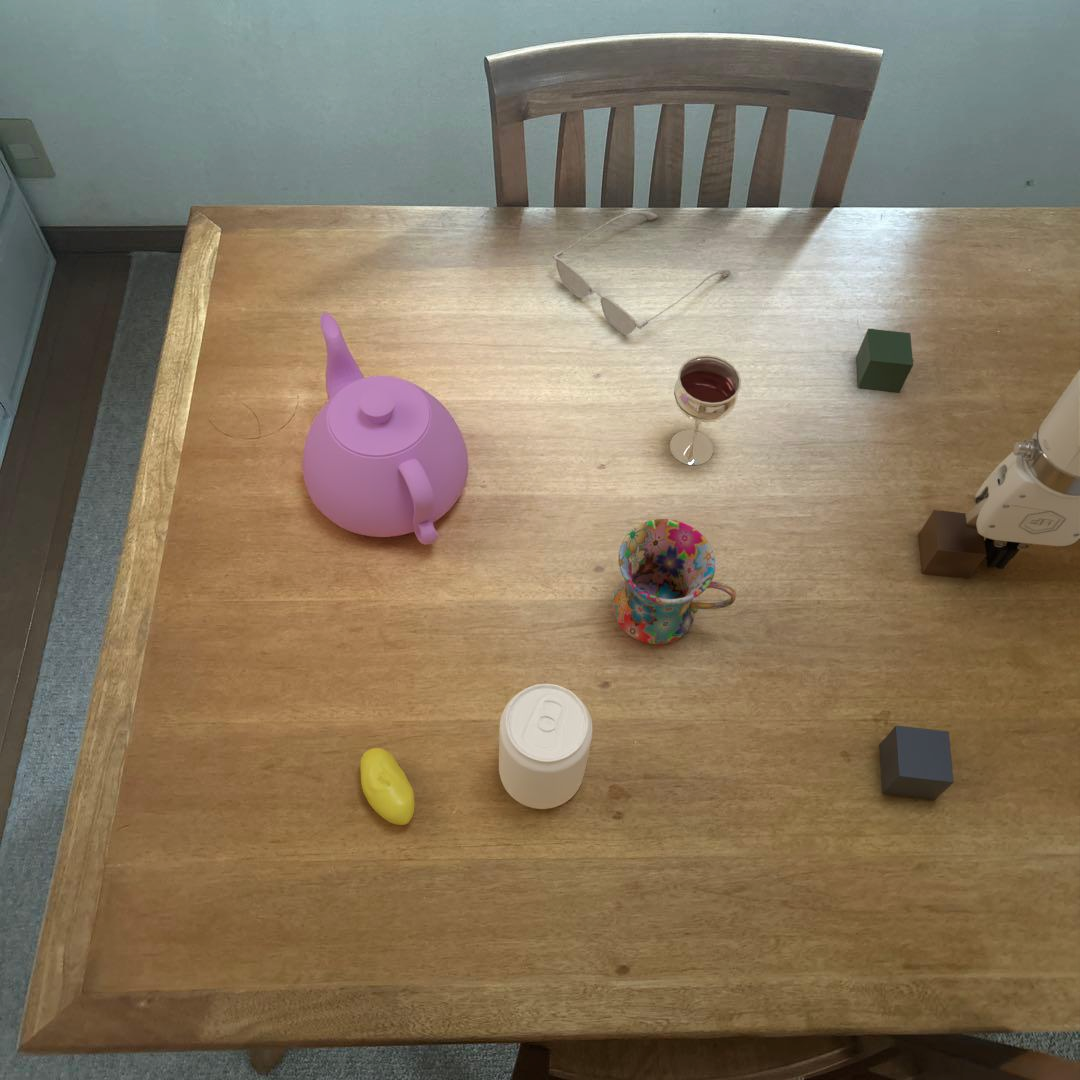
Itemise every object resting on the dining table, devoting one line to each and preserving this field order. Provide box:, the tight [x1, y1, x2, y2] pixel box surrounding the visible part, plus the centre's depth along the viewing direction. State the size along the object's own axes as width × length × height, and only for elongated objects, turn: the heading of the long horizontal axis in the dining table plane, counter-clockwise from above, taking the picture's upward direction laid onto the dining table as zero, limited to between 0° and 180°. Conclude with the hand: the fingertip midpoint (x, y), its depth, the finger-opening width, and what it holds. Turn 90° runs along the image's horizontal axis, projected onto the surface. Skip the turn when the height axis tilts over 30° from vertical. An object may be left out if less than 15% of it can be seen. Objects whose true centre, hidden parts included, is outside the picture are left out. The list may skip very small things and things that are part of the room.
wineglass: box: [669, 354, 742, 466], centre depth 118 cm, size 7×7×12 cm
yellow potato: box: [359, 747, 415, 826], centre depth 99 cm, size 4×8×4 cm, turn 26°
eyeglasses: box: [552, 210, 731, 335], centre depth 136 cm, size 15×18×4 cm
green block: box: [855, 328, 914, 393], centre depth 128 cm, size 5×5×5 cm
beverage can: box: [498, 683, 594, 810], centre depth 98 cm, size 8×8×12 cm
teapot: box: [302, 312, 469, 546], centre depth 114 cm, size 25×18×14 cm
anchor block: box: [879, 725, 954, 801], centre depth 102 cm, size 5×5×5 cm
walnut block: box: [917, 509, 986, 579], centre depth 115 cm, size 5×5×5 cm
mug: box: [612, 518, 737, 645], centre depth 108 cm, size 12×9×11 cm
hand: (993, 556), depth 116 cm, fingers closed
